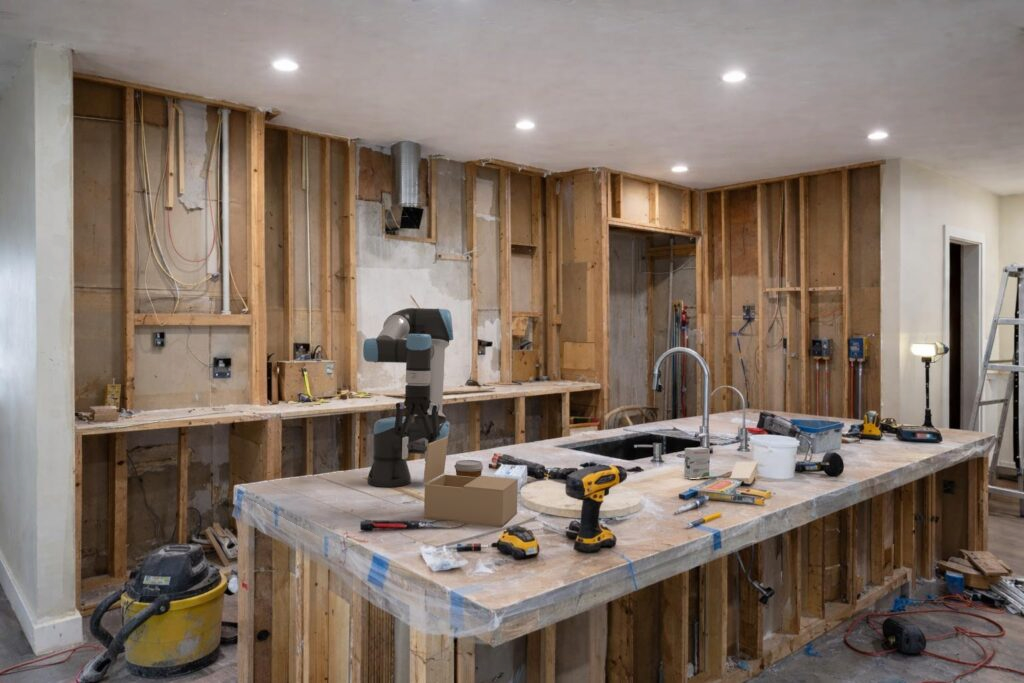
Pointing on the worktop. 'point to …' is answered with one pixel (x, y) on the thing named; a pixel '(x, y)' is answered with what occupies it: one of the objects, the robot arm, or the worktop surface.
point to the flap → (432, 456)
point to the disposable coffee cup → (468, 468)
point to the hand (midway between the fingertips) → (416, 459)
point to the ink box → (696, 462)
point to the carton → (471, 499)
